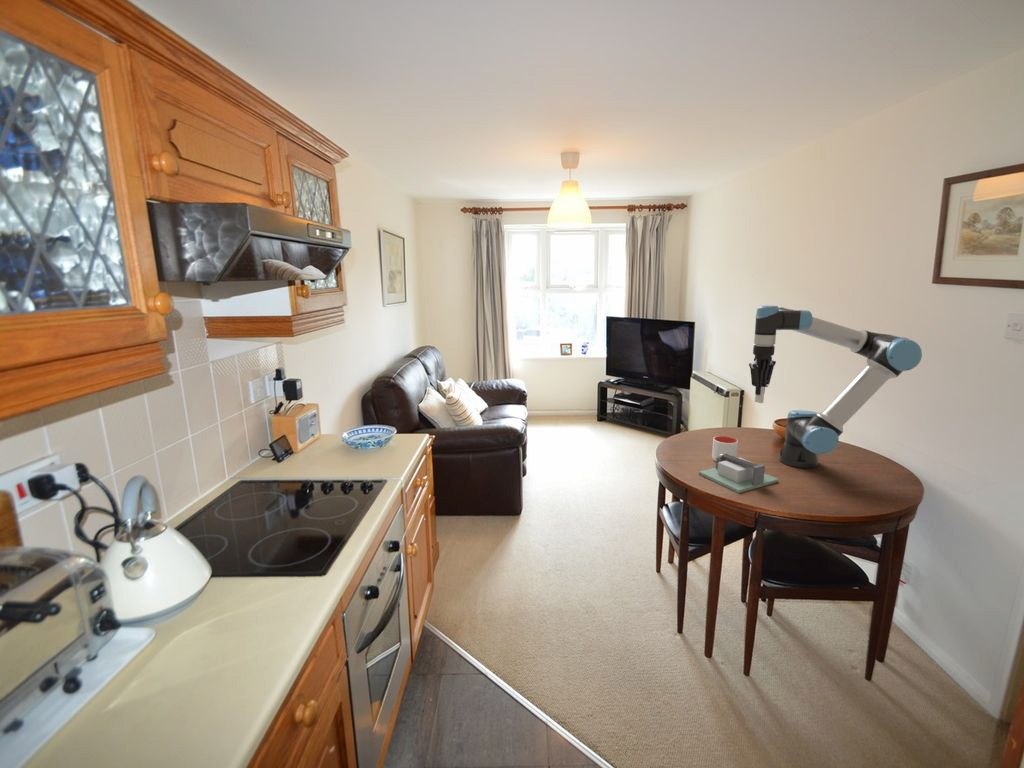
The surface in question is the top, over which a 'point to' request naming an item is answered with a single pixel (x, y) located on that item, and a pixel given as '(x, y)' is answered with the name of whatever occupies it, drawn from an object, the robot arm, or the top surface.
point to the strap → (737, 460)
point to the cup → (724, 446)
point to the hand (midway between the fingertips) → (759, 402)
